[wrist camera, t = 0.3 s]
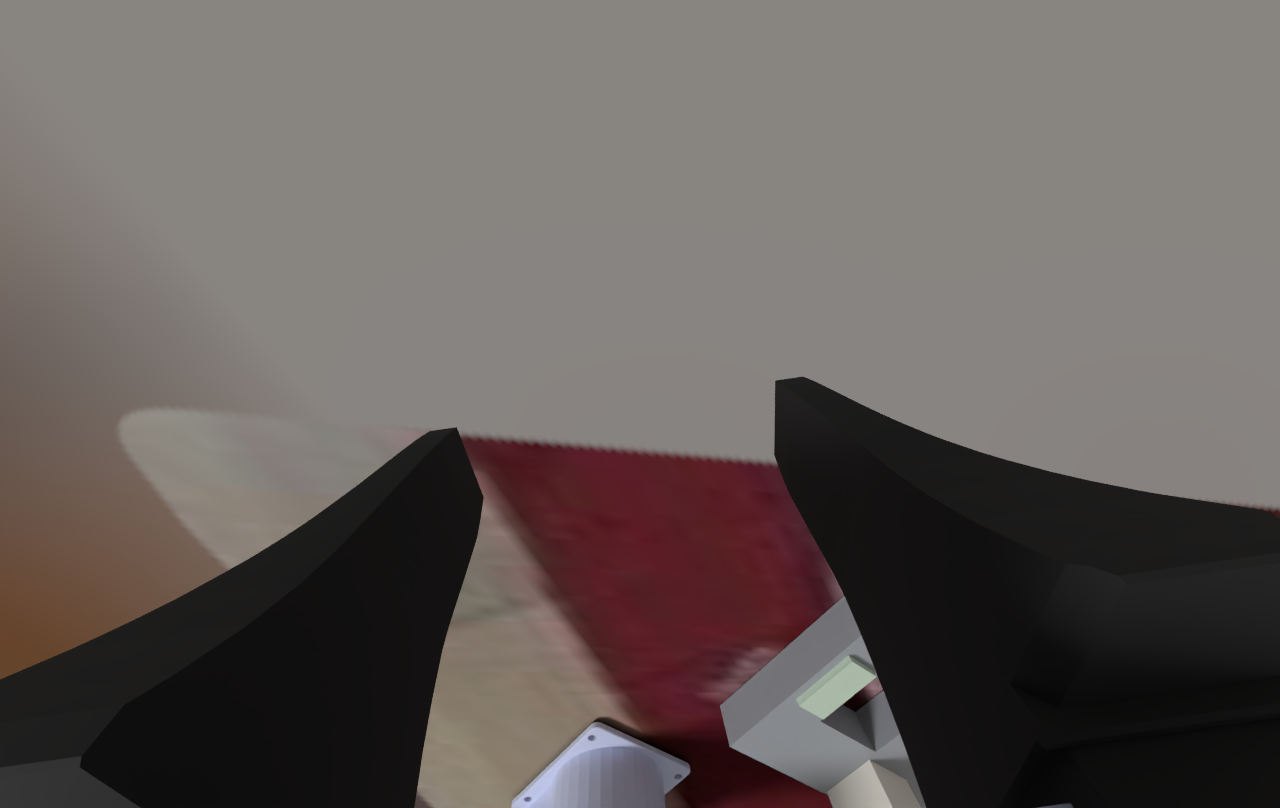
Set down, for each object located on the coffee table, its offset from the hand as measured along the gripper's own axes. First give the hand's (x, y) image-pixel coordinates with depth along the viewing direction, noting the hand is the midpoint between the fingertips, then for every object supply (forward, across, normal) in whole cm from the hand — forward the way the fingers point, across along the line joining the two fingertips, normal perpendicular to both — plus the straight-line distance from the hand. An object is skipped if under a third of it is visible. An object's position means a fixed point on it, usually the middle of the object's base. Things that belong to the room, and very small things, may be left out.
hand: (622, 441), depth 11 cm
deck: (+7, -14, +29) cm, 33 cm away
